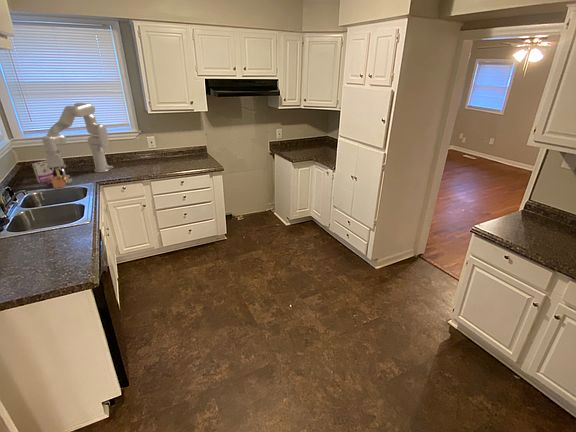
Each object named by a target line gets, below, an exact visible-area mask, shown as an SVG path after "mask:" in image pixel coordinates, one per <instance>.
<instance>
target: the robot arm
mask: <svg viewBox="0 0 576 432" xmlns="http://www.w3.org/2000/svg"><path fill="white" fill-rule="evenodd" d="M95 112H96V108H95V106H94V105H93V104H91V103H89V102H88V103H86V102H85V103H84V102H75V103H74V104H73V105H65V107H64V108H63V110H62V113H61V116H60V117H59V119H58V120H57V122H56V123H54V124H53V125H52V126H50V128H49V129H48V132H47V134H46V136H42V137H41V139H42V143H43V146H44V147H43V148H44V150H45V153H46V154H45V159H46V160H45V161H47V167H46V168H48V169H51V170H52V171H53V174H54V177H57V175H56V171H55V169H56V168H59V169H60V174H61V176H62V175H63V169H64V170H65V168H67V164H65V162H64V161H65V160H64V159H63V157H62V154H61V150H58V146H61V145H65V144H66V143H67V141H68V139H67V137H66V136H65V135H63V134H60V133H61V132H62V131H64V130H67V129H69V128H71V126H72V125H73V122H74V121H75V118H83V120H84V124H85V129H86V131H87V133H88V134H90V136H89V137H88V139H87V143H88V145H89V148H90V151H91V154H92V158H93V162H94V165H95V166H94V167H95V169H94V170H93V171H94V172H95V173H105V172H108V171H110V170H111V169H113V168H114V166H113V165H109V164H108V163H107V159H106V156H105V151H104V149H105V148H107V147H109V145H110V139H109V134H108V132H107V128H106V126H105V125H103V124H102V123H97V119H96V116H95V114H94V113H95Z"/></svg>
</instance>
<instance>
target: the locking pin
mask: <svg viewBox="0 0 576 432" xmlns="http://www.w3.org/2000/svg"><path fill="white" fill-rule="evenodd" d="M55 171H56V175H57V176H56V177H57V178H58V179H63V178H62V176H61V174H60V169H59V167H55Z"/></svg>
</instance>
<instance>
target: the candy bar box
mask: <svg viewBox="0 0 576 432" xmlns="http://www.w3.org/2000/svg"><path fill="white" fill-rule="evenodd" d="M31 165H32V168H33V172H34V174H35V178H36V180H37V182H38V184H44V183H45V184H46V183H49V182H50V183H51V180H52V179H53V178H54V177H55V175H54V172H53V171H52V170H51V169H48V168H46V167H47V160H42V161H38V162H33V163H31Z"/></svg>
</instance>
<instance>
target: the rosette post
mask: <svg viewBox="0 0 576 432" xmlns="http://www.w3.org/2000/svg"><path fill="white" fill-rule="evenodd" d="M70 177H71V175H69V174H66V170H65V168H64V169H63V175H62V178H63V179H58V178H57V176H54V178H53V179H52V180H51V181H50V183H51V184H52V186H53V189H59V188H61V189H62V188H67V186H66V184H70V183H71V182H72V181H73V178H70Z"/></svg>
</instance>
